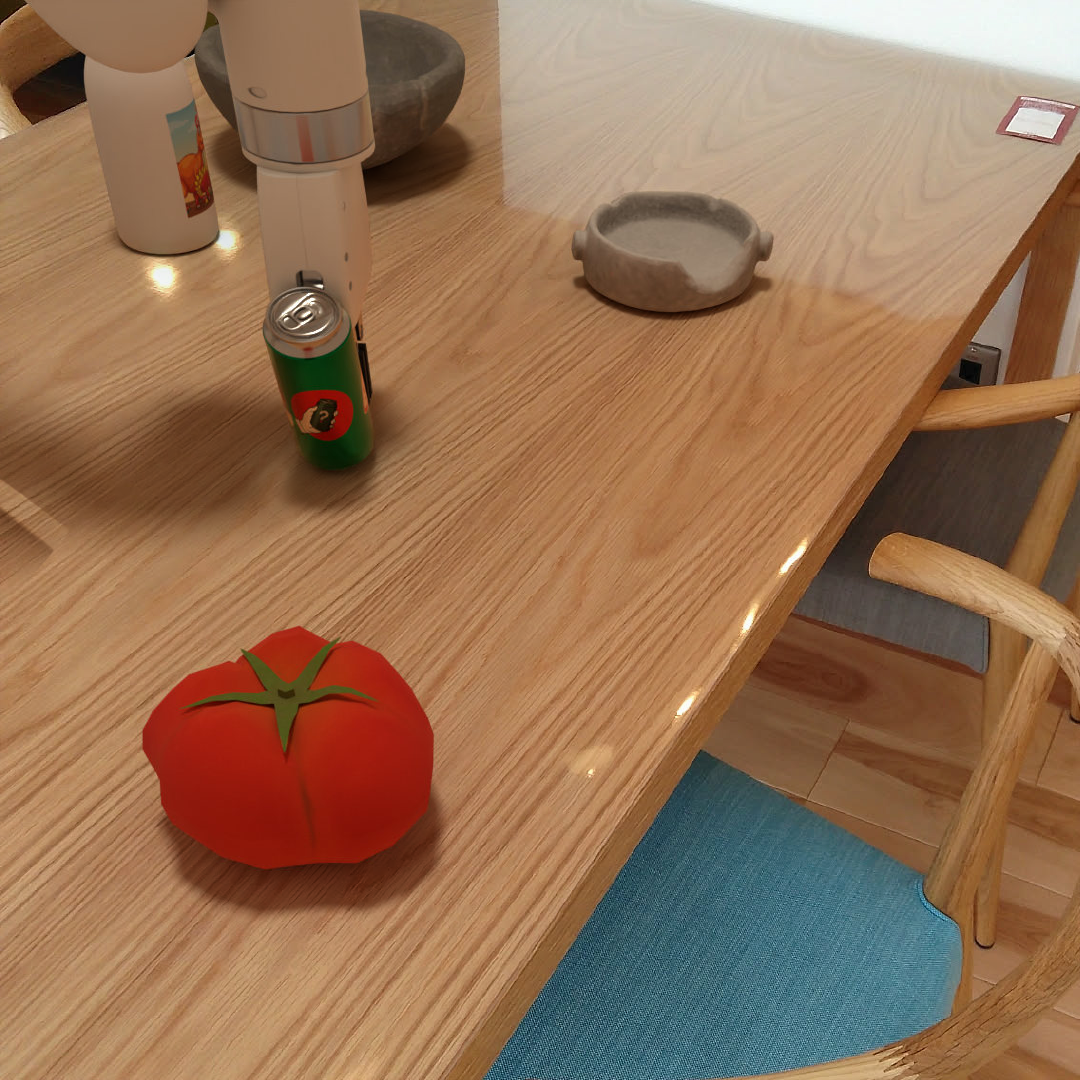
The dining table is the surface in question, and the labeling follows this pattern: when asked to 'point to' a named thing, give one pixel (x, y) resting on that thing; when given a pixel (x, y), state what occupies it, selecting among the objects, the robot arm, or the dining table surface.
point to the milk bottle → (152, 157)
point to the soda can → (319, 377)
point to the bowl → (375, 79)
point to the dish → (670, 250)
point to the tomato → (293, 753)
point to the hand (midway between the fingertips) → (347, 402)
